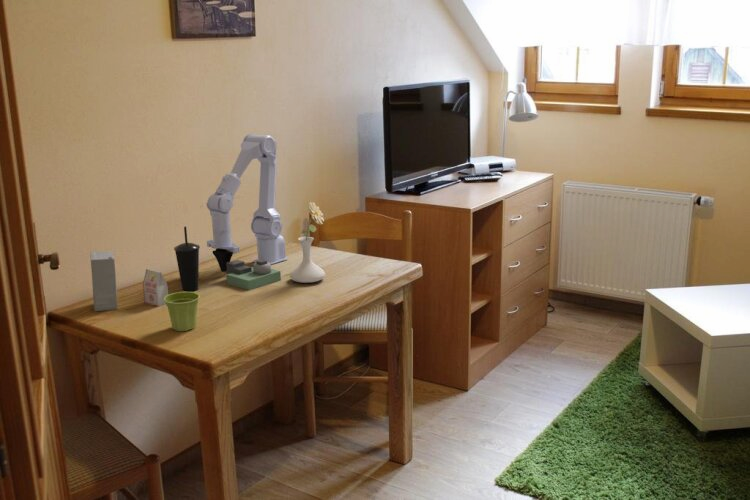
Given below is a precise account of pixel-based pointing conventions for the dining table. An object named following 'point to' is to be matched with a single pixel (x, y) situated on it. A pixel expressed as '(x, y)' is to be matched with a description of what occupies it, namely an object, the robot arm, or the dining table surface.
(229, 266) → the notched gray block
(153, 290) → the white printed carton
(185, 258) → the drinking cup
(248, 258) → the dining table surface
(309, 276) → the flower in vase
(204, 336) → the dining table surface
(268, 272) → the sage green base plate
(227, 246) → the robot arm
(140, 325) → the dining table surface
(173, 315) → the plant pot
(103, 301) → the skincare box
